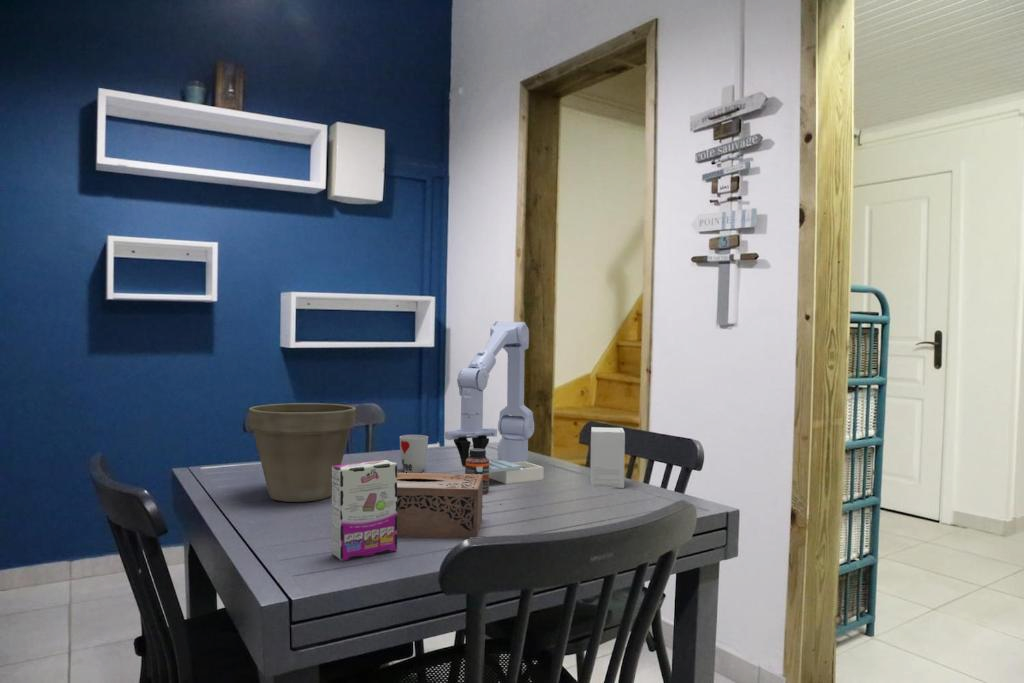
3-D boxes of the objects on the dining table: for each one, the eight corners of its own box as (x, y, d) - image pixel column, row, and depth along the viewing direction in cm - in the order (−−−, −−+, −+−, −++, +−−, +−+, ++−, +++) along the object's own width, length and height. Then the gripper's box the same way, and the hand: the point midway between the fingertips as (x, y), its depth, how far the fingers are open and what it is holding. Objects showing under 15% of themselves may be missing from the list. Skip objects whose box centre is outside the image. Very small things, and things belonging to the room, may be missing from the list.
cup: (395, 469, 207) (396, 435, 207) (422, 467, 211) (423, 434, 211) (403, 475, 200) (404, 439, 200) (431, 473, 204) (432, 438, 203)
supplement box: (622, 481, 198) (624, 427, 197) (624, 488, 189) (625, 431, 189) (589, 480, 199) (590, 426, 198) (590, 487, 190) (591, 430, 189)
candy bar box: (385, 544, 137) (387, 458, 136) (397, 551, 133) (399, 463, 132) (329, 554, 130) (330, 464, 130) (340, 562, 126) (341, 469, 126)
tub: (488, 479, 196) (488, 465, 196) (525, 475, 203) (525, 461, 203) (506, 486, 189) (506, 471, 189) (543, 481, 195) (543, 467, 195)
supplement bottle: (485, 498, 175) (486, 451, 175) (462, 496, 176) (462, 450, 176) (491, 492, 181) (491, 448, 181) (468, 491, 182) (469, 446, 182)
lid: (457, 467, 191) (457, 451, 191) (501, 462, 199) (502, 447, 199) (474, 473, 183) (475, 457, 183) (521, 469, 191) (521, 452, 191)
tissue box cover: (347, 536, 142) (348, 486, 142) (364, 517, 157) (365, 471, 157) (477, 539, 142) (478, 489, 142) (481, 520, 156) (482, 474, 156)
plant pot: (305, 480, 191) (306, 399, 191) (375, 492, 179) (376, 405, 178) (224, 498, 170) (226, 407, 170) (298, 514, 157) (299, 415, 157)
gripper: (454, 416, 180) (453, 470, 181) (503, 414, 188) (502, 465, 189) (441, 413, 186) (440, 465, 187) (489, 411, 194) (488, 461, 195)
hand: (470, 465), depth 188 cm, fingers closed on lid, 3 cm apart
